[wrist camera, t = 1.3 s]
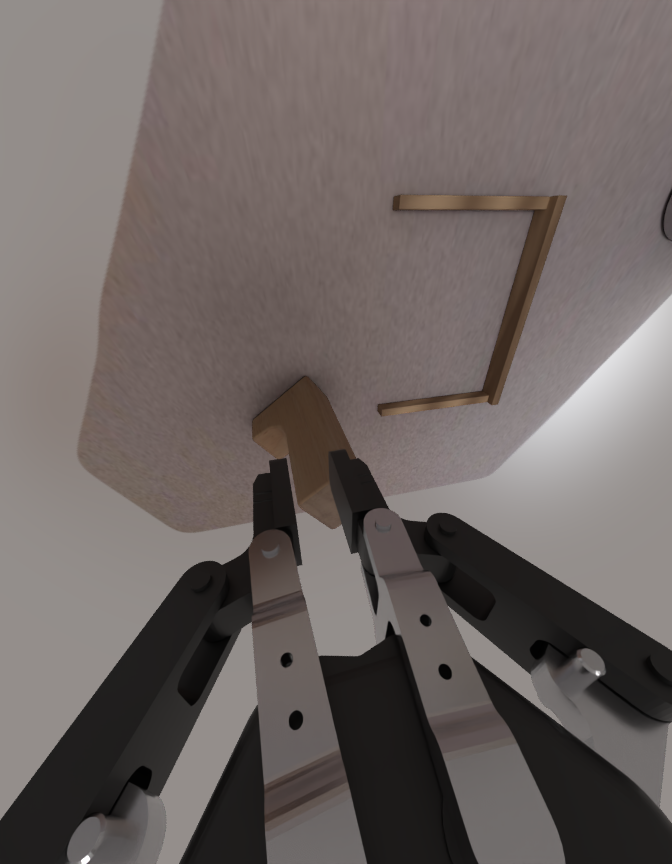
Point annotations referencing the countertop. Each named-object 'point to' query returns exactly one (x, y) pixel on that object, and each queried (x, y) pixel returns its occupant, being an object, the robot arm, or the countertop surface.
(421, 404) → the frame
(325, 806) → the robot arm
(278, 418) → the wooden block
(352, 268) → the countertop surface
